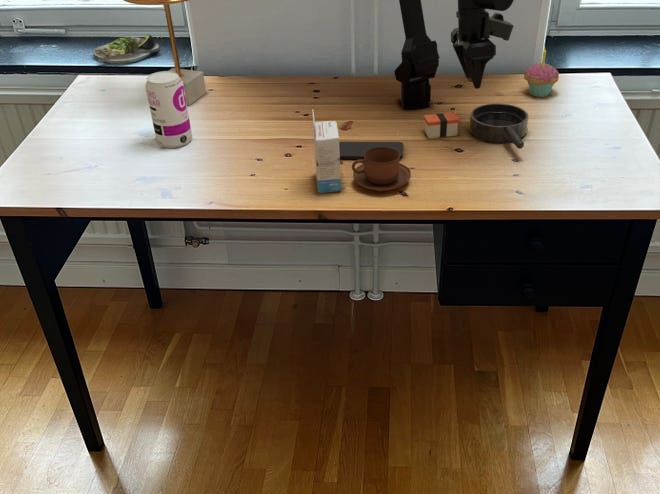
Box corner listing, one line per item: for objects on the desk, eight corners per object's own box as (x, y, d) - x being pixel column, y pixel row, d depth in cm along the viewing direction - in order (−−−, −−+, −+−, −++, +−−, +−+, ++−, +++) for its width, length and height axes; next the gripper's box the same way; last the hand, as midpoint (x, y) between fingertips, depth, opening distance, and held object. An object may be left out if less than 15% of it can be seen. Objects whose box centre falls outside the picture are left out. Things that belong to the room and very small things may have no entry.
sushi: (427, 138, 178) (428, 122, 175) (423, 131, 181) (423, 114, 178) (458, 135, 178) (459, 119, 176) (453, 128, 181) (454, 111, 179)
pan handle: (503, 132, 173) (504, 125, 172) (511, 132, 173) (512, 124, 172) (517, 150, 166) (517, 143, 165) (524, 149, 166) (525, 142, 165)
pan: (478, 146, 174) (480, 129, 171) (462, 122, 184) (463, 106, 181) (534, 140, 175) (536, 123, 173) (515, 117, 185) (517, 101, 182)
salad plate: (117, 73, 214) (114, 56, 211) (78, 59, 223) (74, 43, 220) (171, 52, 225) (168, 36, 222) (131, 40, 234) (128, 24, 231)
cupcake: (556, 100, 192) (563, 51, 184) (521, 99, 193) (527, 49, 185) (556, 87, 198) (563, 39, 190) (522, 85, 199) (528, 37, 192)
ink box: (341, 192, 160) (339, 123, 150) (317, 193, 159) (313, 125, 150) (338, 172, 166) (336, 106, 156) (315, 174, 166) (311, 107, 156)
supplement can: (198, 135, 182) (188, 72, 172) (181, 151, 176) (169, 85, 166) (168, 131, 184) (156, 68, 174) (150, 146, 178) (136, 82, 169)
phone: (337, 141, 176) (403, 141, 174) (337, 144, 176) (403, 144, 175) (334, 156, 170) (402, 156, 169) (334, 159, 171) (402, 160, 169)
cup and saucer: (367, 201, 157) (367, 173, 153) (344, 175, 165) (343, 148, 161) (420, 188, 160) (421, 160, 156) (395, 164, 168) (395, 137, 164)
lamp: (125, 107, 196) (84, -73, 169) (170, 77, 210) (138, -93, 184) (197, 118, 189) (166, -67, 163) (237, 87, 204) (215, -88, 177)
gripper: (521, 9, 154) (520, 89, 163) (499, -5, 170) (499, 68, 179) (465, 16, 154) (467, 95, 163) (449, 1, 170) (451, 74, 179)
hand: (473, 83), depth 171 cm, fingers open, 9 cm apart
